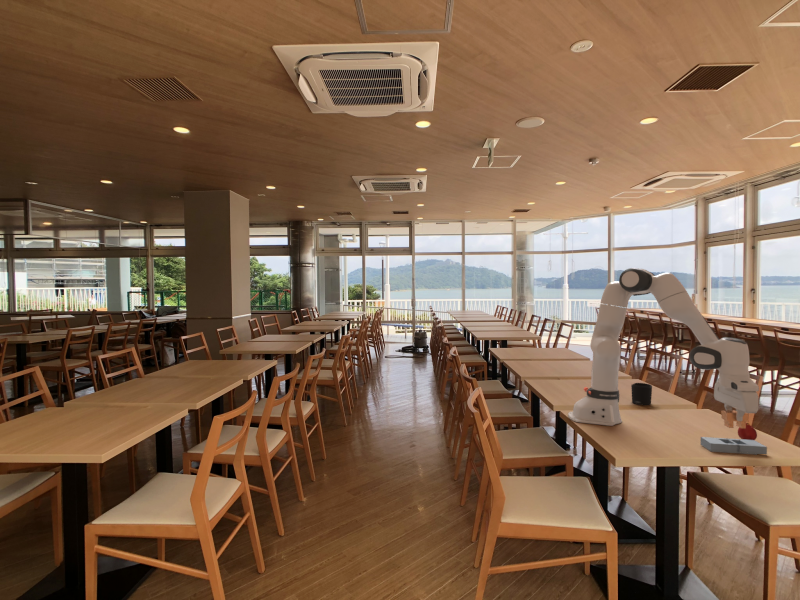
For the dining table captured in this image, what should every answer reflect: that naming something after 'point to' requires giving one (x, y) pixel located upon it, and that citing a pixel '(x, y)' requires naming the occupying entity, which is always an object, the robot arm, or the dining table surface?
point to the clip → (733, 419)
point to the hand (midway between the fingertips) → (734, 418)
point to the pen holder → (641, 393)
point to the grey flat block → (733, 445)
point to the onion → (747, 432)
